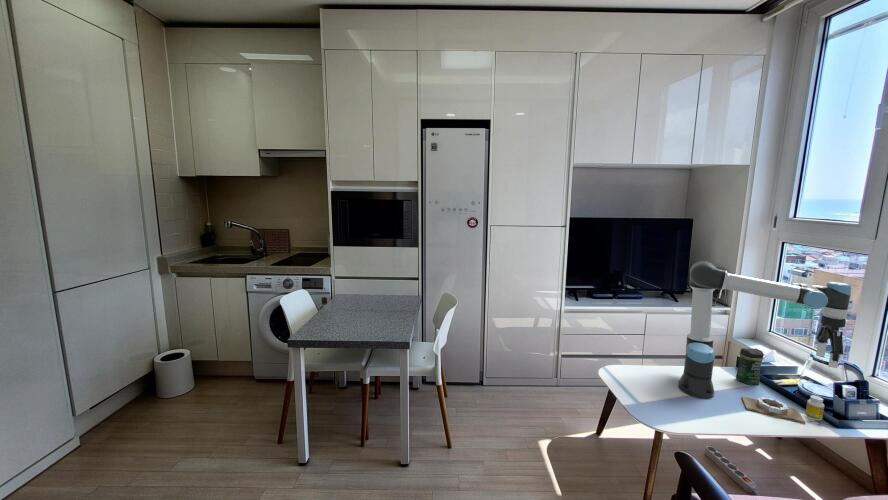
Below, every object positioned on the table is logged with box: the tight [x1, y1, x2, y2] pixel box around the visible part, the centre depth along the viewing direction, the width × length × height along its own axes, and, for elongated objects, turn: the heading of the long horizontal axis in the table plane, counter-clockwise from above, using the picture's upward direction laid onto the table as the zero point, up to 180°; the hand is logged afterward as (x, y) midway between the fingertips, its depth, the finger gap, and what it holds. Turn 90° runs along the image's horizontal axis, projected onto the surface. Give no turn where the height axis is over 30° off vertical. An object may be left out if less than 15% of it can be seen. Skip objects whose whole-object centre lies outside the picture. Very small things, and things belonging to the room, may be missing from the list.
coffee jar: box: [735, 347, 764, 385], centre depth 193 cm, size 10×8×19 cm
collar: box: [756, 396, 789, 415], centre depth 167 cm, size 10×10×2 cm
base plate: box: [741, 395, 806, 425], centre depth 167 cm, size 20×12×1 cm, turn 59°
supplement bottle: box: [804, 394, 825, 421], centre depth 162 cm, size 5×5×10 cm
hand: (826, 361), depth 165 cm, fingers open, 13 cm apart
